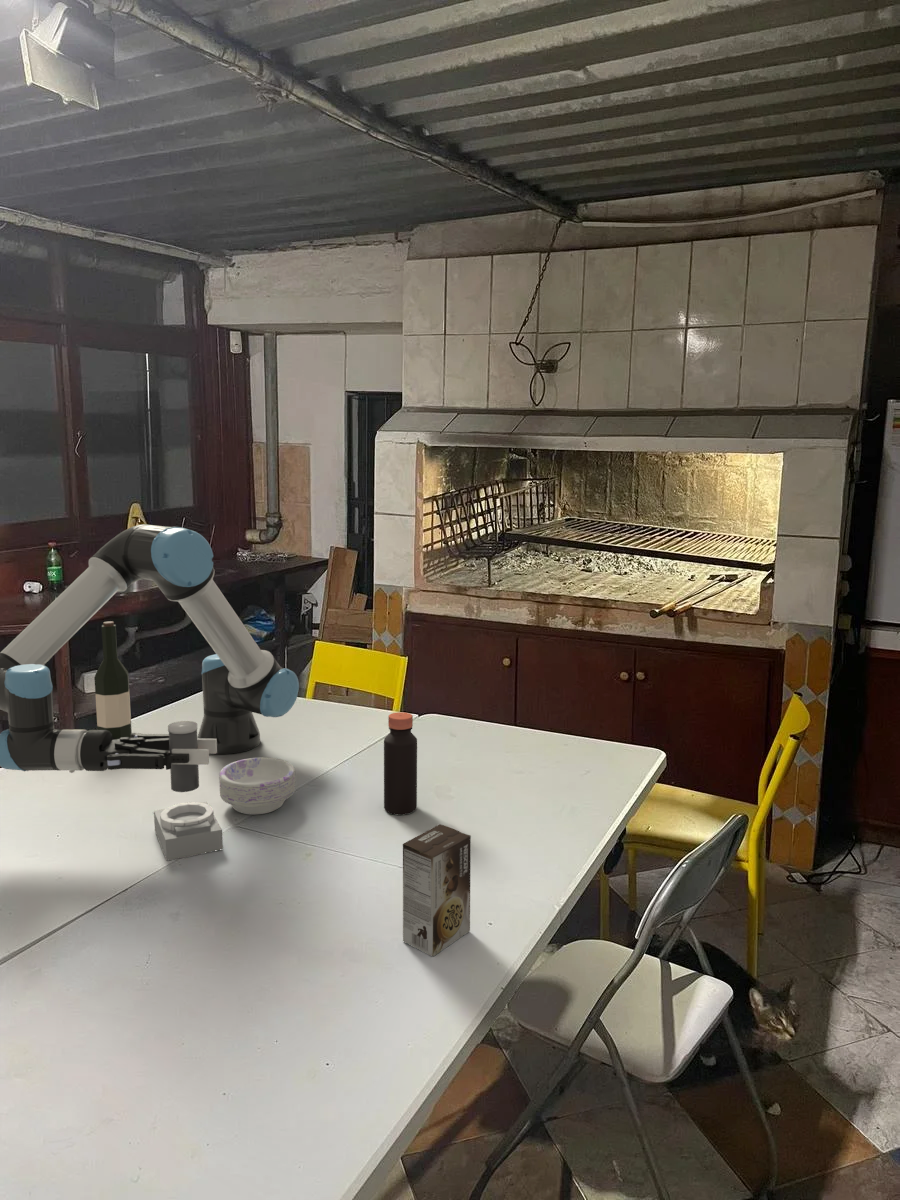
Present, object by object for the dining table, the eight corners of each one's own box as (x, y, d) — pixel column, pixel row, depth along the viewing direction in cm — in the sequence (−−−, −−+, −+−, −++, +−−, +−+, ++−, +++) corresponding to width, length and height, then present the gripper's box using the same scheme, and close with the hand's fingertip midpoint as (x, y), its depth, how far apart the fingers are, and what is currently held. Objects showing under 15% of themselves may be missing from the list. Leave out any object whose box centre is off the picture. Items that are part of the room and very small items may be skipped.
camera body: (207, 820, 173) (206, 794, 172) (222, 849, 161) (221, 821, 160) (154, 830, 169) (153, 803, 168) (166, 860, 157) (165, 832, 156)
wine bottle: (138, 734, 224) (132, 619, 219) (123, 744, 216) (116, 626, 211) (107, 732, 225) (100, 618, 219) (91, 743, 217) (83, 625, 211)
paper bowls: (278, 824, 172) (277, 786, 171) (207, 817, 175) (205, 779, 174) (306, 794, 187) (305, 759, 185) (240, 788, 190) (238, 753, 188)
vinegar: (377, 811, 179) (377, 717, 175) (394, 799, 185) (394, 708, 181) (406, 818, 176) (406, 722, 172) (422, 806, 182) (423, 713, 178)
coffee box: (439, 917, 139) (440, 822, 136) (471, 932, 135) (473, 834, 132) (400, 942, 132) (400, 842, 129) (433, 958, 128) (434, 855, 125)
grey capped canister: (196, 779, 167) (194, 719, 164) (202, 789, 162) (199, 727, 160) (168, 784, 164) (165, 723, 162) (173, 794, 160) (170, 731, 158)
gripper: (105, 752, 171) (224, 753, 171) (67, 788, 153) (199, 789, 154) (103, 715, 170) (223, 717, 170) (64, 747, 152) (198, 748, 152)
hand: (212, 751), depth 162 cm, fingers closed on grey capped canister, 5 cm apart
